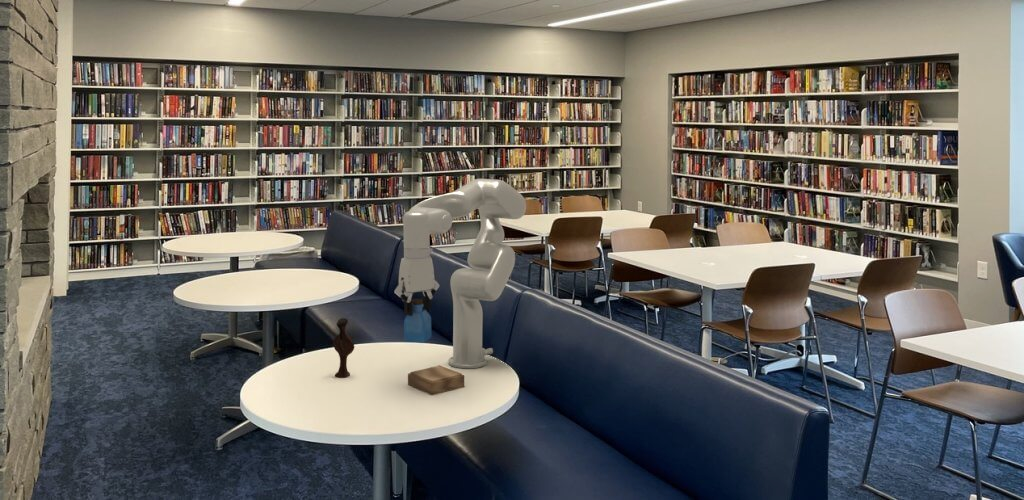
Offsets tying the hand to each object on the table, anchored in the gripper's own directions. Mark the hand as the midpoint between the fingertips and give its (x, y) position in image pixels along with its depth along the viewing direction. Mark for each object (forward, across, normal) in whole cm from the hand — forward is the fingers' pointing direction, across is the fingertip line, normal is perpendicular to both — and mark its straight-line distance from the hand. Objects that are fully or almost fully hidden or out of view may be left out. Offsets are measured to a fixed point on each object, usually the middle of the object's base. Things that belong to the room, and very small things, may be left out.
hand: (417, 312), depth 234 cm
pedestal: (+22, -3, +5) cm, 23 cm away
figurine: (+22, +14, -20) cm, 33 cm away
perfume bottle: (+8, 0, 0) cm, 8 cm away
